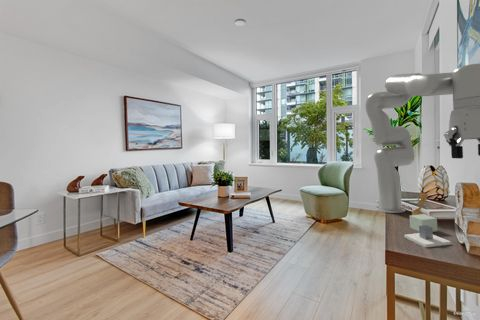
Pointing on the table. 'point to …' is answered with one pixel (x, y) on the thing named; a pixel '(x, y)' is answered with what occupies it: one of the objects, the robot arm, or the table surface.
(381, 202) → the robot arm
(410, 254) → the table surface
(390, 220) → the table surface
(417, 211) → the figurine
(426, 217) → the pale green block
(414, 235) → the post block
